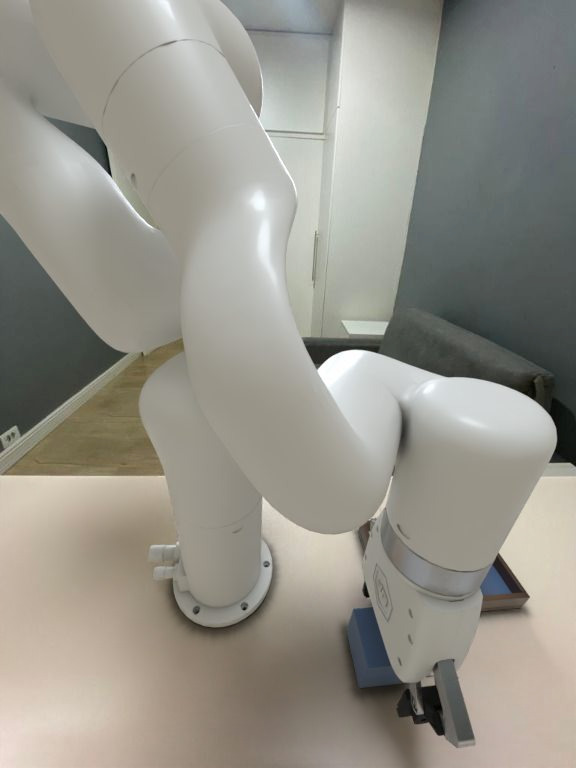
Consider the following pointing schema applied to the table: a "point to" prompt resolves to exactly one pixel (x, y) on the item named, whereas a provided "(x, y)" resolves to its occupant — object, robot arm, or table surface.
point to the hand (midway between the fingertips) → (392, 644)
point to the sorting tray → (486, 582)
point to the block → (369, 650)
